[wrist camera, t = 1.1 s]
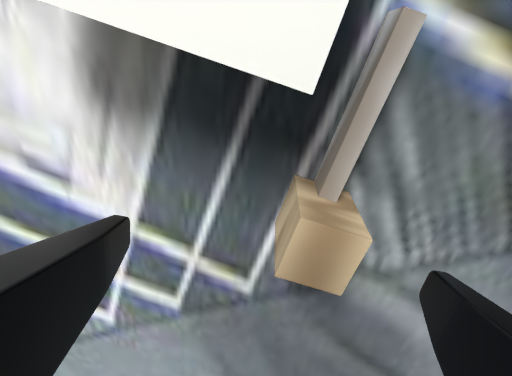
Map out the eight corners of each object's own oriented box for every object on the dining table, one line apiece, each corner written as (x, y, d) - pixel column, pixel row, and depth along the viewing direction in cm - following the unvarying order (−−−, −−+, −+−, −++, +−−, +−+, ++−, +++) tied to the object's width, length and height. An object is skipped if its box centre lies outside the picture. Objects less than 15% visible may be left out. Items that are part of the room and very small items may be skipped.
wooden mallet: (430, 28, 17) (500, 18, 12) (326, 238, 23) (340, 296, 18) (364, 3, 17) (404, -18, 12) (275, 222, 23) (274, 276, 18)
